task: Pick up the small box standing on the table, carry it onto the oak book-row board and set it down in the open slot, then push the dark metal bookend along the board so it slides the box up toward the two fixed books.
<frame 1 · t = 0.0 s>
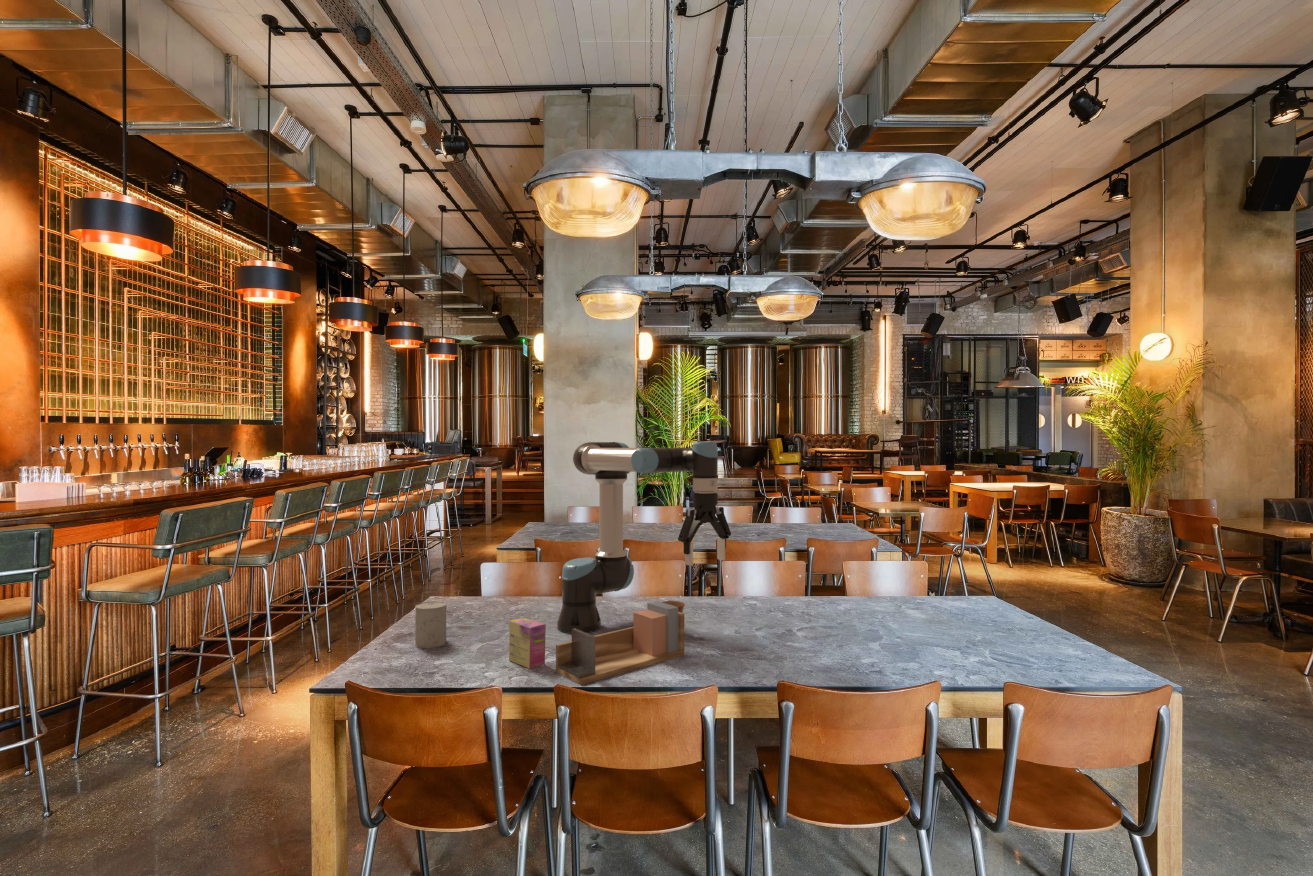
hand: (705, 562, 189), 28 cm above the table, fingers open, 13 cm apart
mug: (670, 636, 208), on the table
row books: (655, 628, 189), point 8 cm above the table
shelf board: (622, 663, 182), on the table
grey stone cylinder: (430, 644, 200), on the table
box: (527, 663, 182), on the table
bookend: (577, 652, 171), point 7 cm above the table, slide at 0.0 cm
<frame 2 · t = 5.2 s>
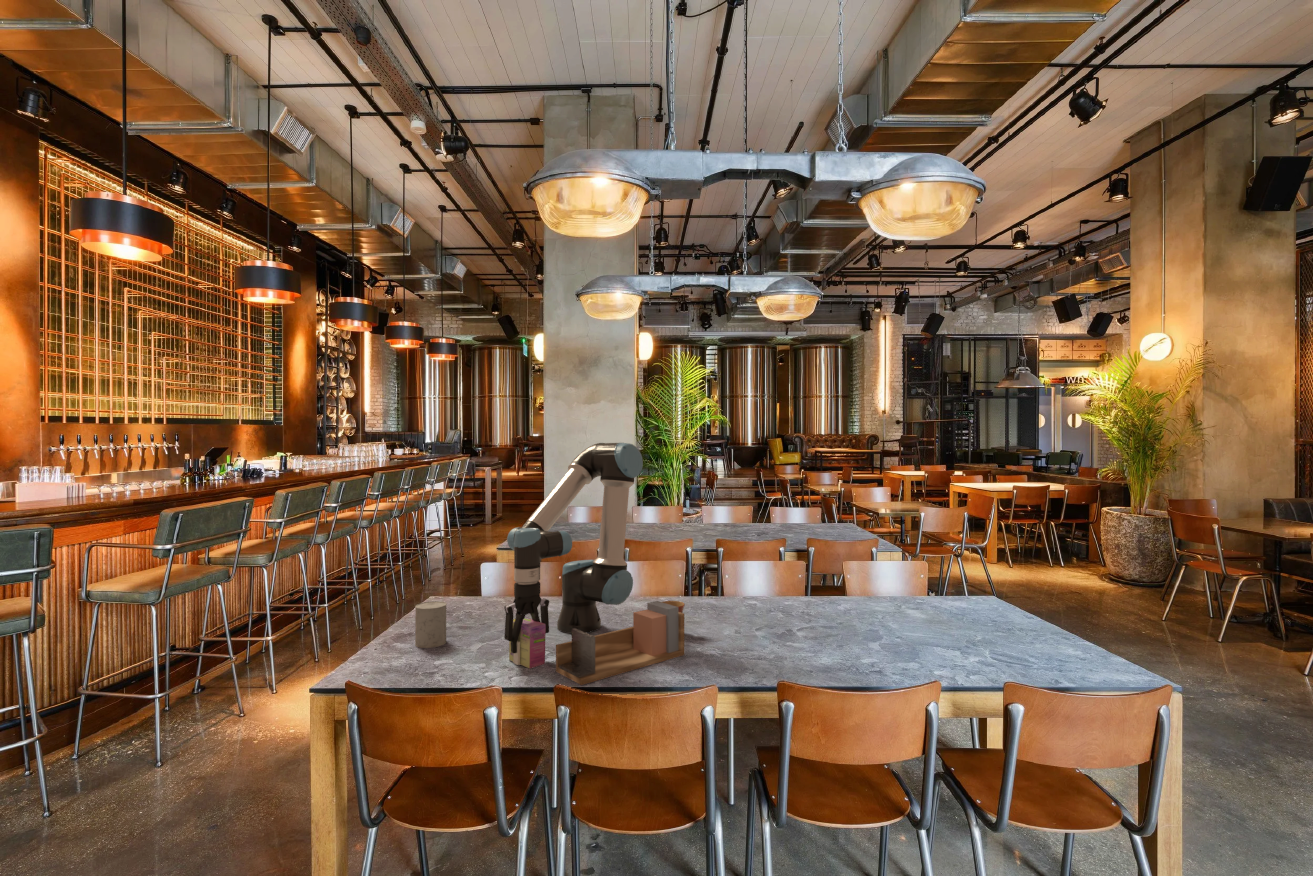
hand: (527, 660, 182), 0 cm above the table, fingers closed on box, 6 cm apart
box: (527, 663, 182), on the table, touching gripper
everything else where it was.
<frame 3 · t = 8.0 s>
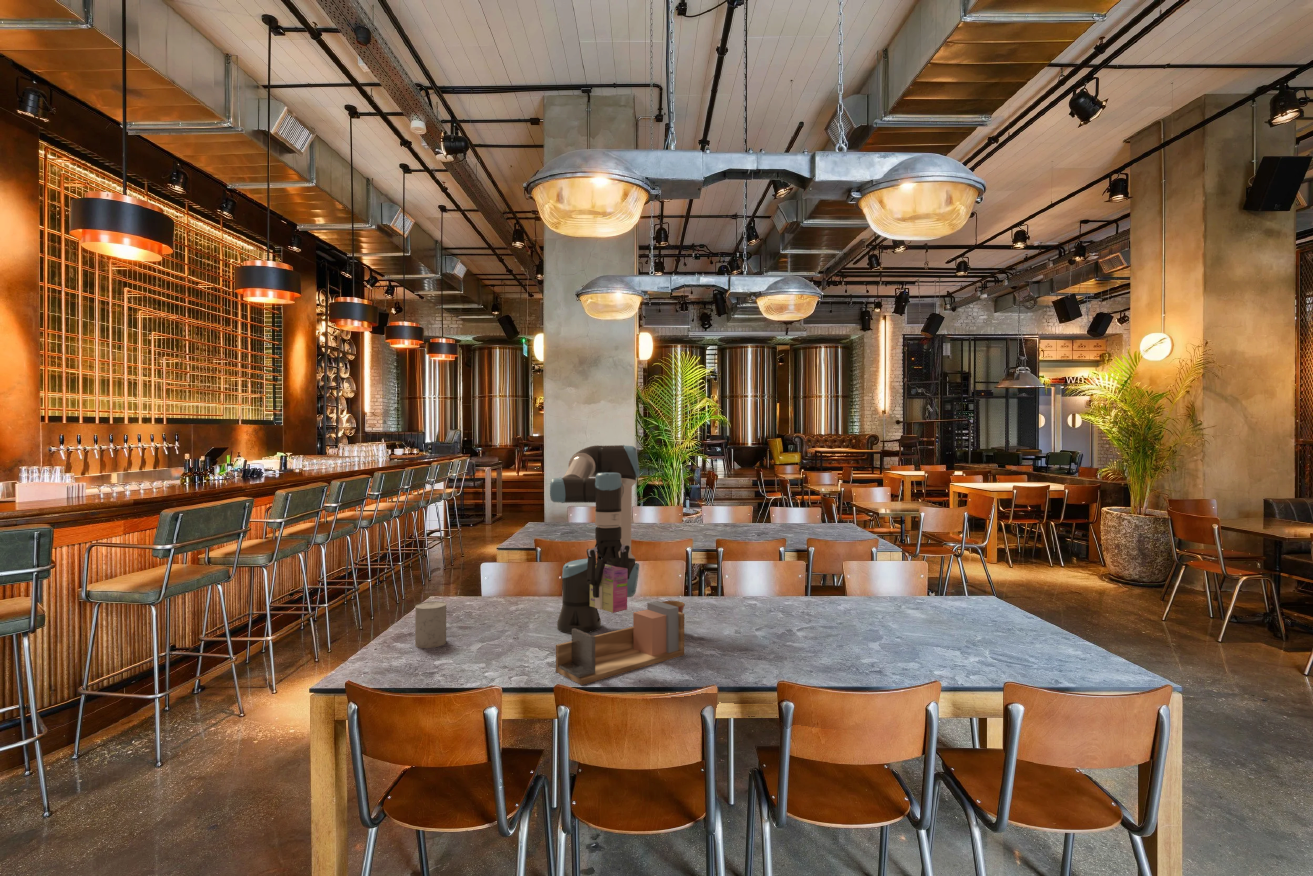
hand: (608, 606, 179), 17 cm above the table, fingers closed on box, 6 cm apart
box: (608, 608, 179), point 16 cm above the table, touching gripper
everything else where it was.
when the fingers open (3 cm above the table, at t = 11.2 s): box stays where it is, resting on shelf board.
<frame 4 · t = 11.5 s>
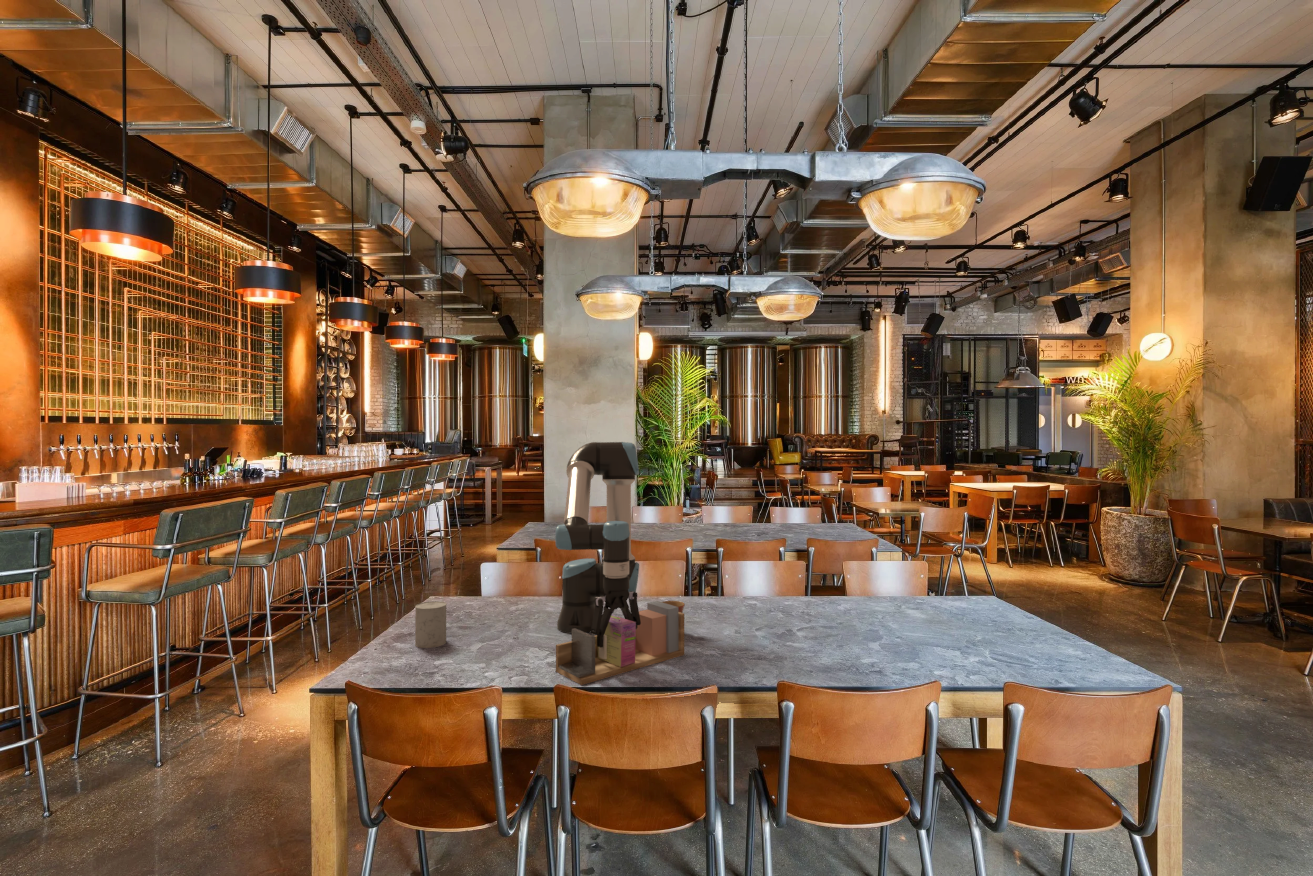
hand: (616, 654, 179), 3 cm above the table, fingers open, 9 cm apart
box: (616, 661, 179), point 1 cm above the table, touching shelf board
everything else where it was.
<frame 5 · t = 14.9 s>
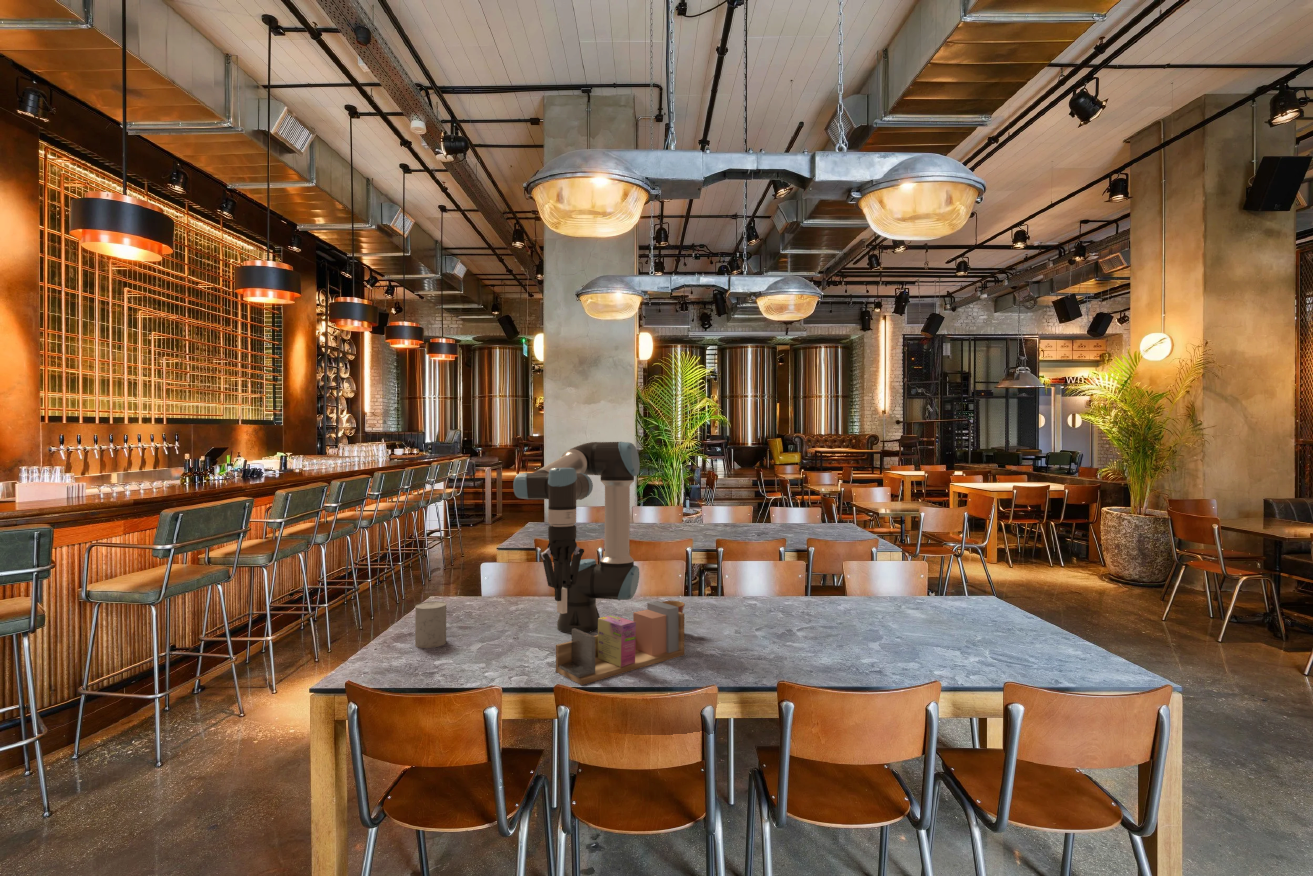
hand: (562, 612, 168), 18 cm above the table, fingers closed
nothing on the table moved.
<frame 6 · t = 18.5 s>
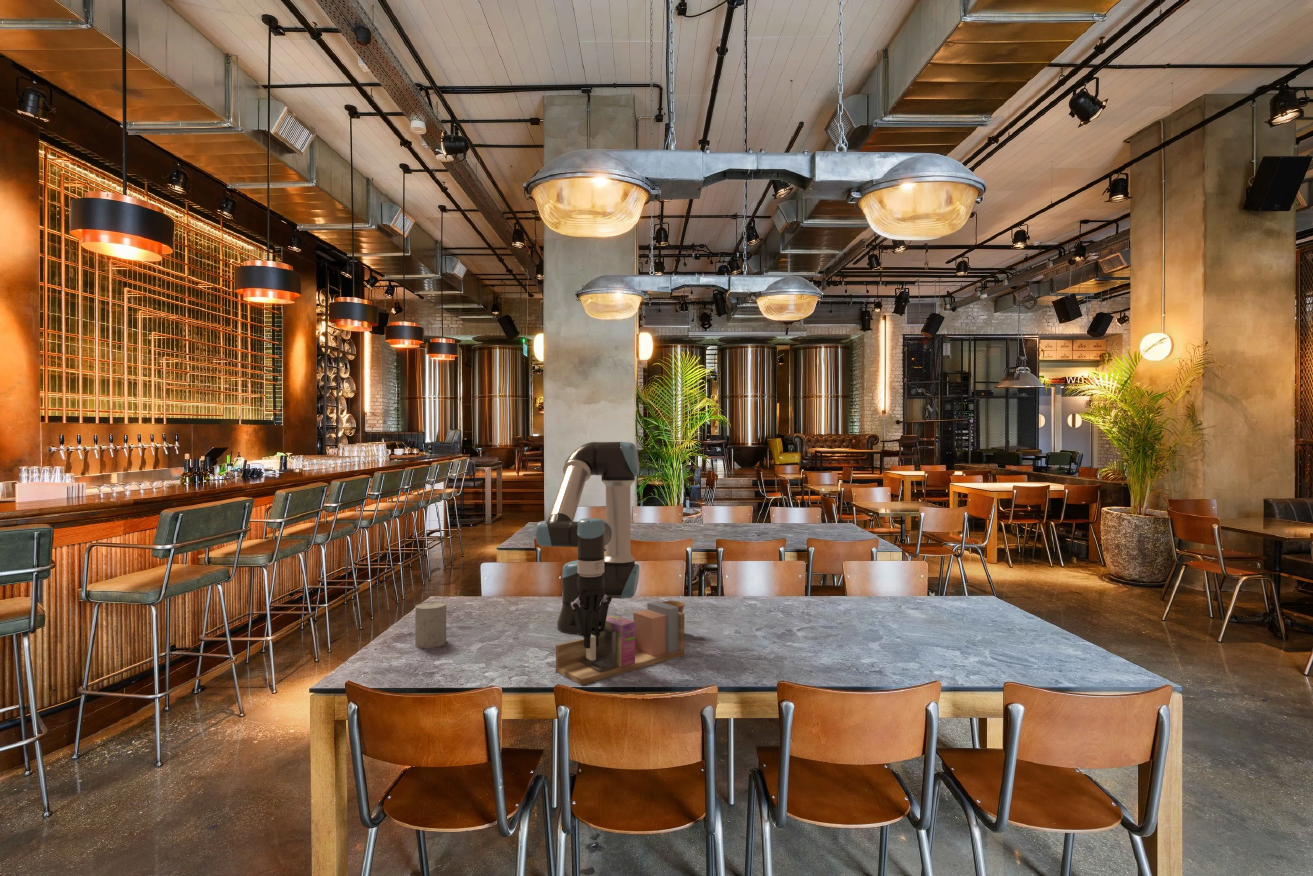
hand: (590, 658, 174), 4 cm above the table, fingers closed
bookend: (597, 647, 176), point 7 cm above the table, slide at 6.9 cm, touching hand
everything else where it was.
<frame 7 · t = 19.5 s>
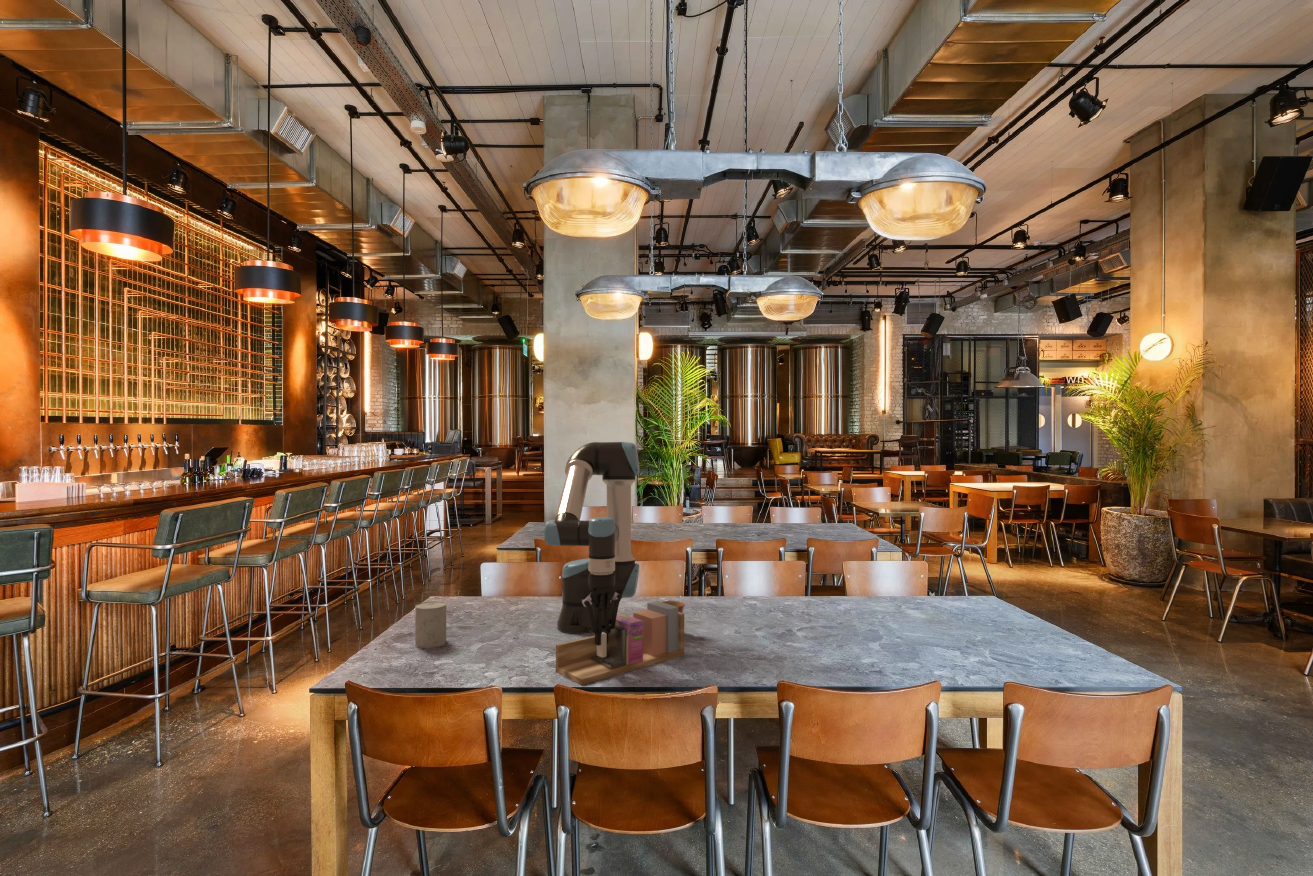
hand: (601, 655, 177), 4 cm above the table, fingers closed
box: (625, 659, 181), point 1 cm above the table, touching bookend, shelf board
bookend: (608, 644, 178), point 7 cm above the table, slide at 10.5 cm, touching box, hand
everything else where it was.
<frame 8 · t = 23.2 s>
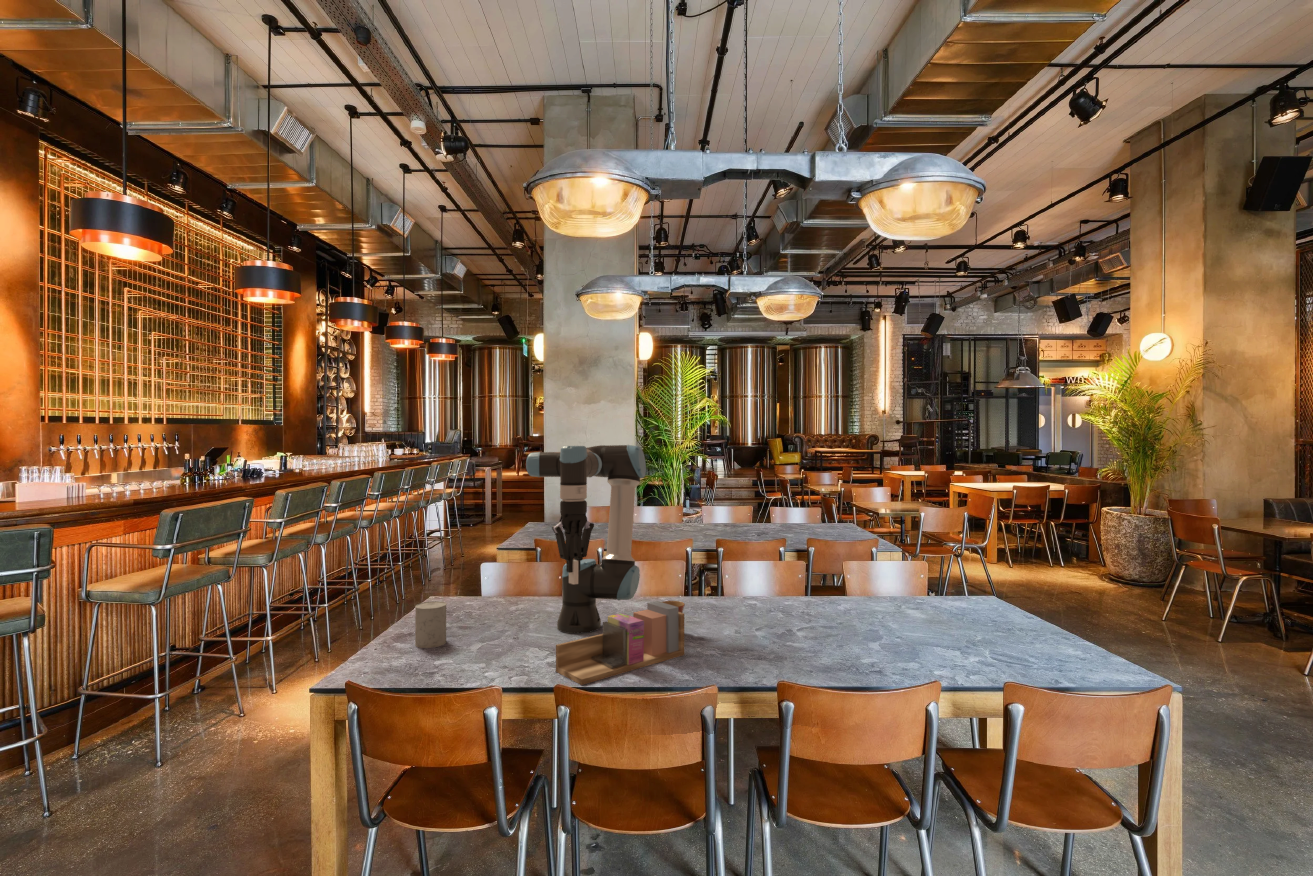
hand: (573, 583, 177), 24 cm above the table, fingers closed
box: (625, 659, 181), point 1 cm above the table, touching shelf board
bookend: (608, 644, 178), point 7 cm above the table, slide at 10.7 cm
everything else where it was.
at the end: bookend slide at 10.7 cm; box inside the target area (0.8 cm from its centre), point 1.3 cm above the table; box tilted 0° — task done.
